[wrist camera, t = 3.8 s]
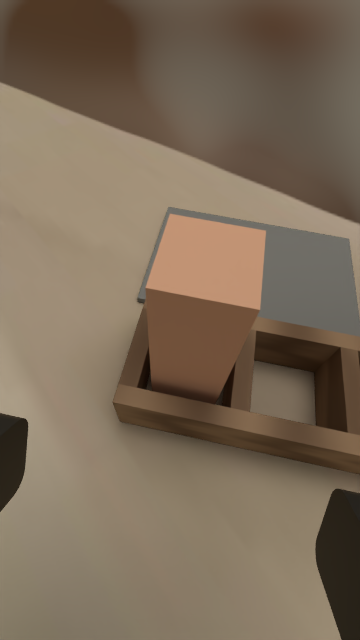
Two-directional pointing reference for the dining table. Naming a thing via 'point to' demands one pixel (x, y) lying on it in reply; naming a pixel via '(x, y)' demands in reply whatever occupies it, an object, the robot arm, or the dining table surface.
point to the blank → (201, 304)
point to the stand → (234, 415)
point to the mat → (296, 276)
